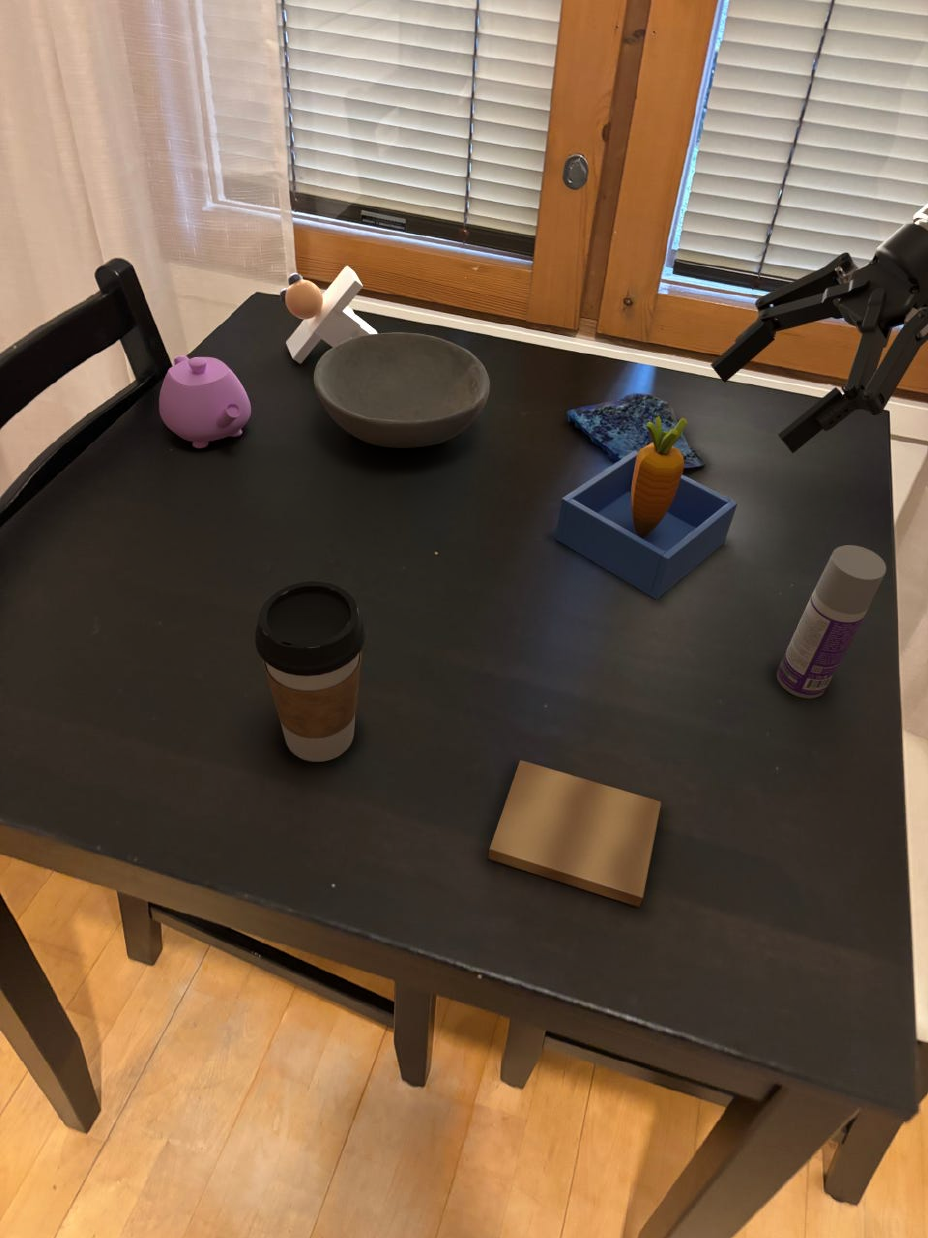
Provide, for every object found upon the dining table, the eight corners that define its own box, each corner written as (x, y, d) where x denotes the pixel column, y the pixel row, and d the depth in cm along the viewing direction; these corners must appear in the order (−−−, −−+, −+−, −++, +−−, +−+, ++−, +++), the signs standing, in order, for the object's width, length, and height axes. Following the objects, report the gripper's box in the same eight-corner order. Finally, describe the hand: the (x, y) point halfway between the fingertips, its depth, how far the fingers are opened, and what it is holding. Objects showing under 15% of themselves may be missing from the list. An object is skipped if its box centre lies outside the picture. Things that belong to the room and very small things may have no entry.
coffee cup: (252, 757, 74) (230, 633, 64) (297, 687, 80) (283, 562, 70) (344, 787, 73) (336, 664, 62) (383, 712, 79) (381, 589, 68)
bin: (724, 542, 99) (738, 502, 95) (656, 600, 92) (668, 559, 88) (626, 489, 105) (635, 449, 101) (554, 538, 98) (561, 498, 94)
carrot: (613, 542, 97) (640, 424, 86) (625, 518, 100) (652, 401, 90) (657, 556, 96) (690, 437, 85) (668, 530, 99) (700, 413, 89)
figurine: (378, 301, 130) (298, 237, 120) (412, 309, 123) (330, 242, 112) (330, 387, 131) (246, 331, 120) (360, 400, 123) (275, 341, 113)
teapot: (222, 394, 115) (211, 326, 109) (280, 448, 107) (273, 378, 101) (146, 417, 110) (130, 348, 104) (201, 476, 102) (188, 405, 96)
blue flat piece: (659, 399, 120) (662, 386, 119) (717, 472, 109) (721, 459, 108) (559, 411, 117) (560, 398, 116) (607, 487, 106) (610, 474, 104)
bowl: (485, 391, 119) (490, 336, 114) (485, 482, 104) (490, 424, 99) (329, 382, 119) (326, 326, 113) (306, 472, 104) (301, 412, 98)
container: (829, 672, 85) (890, 554, 75) (822, 705, 82) (885, 587, 72) (781, 656, 87) (834, 537, 76) (772, 688, 84) (826, 569, 73)
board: (657, 812, 73) (661, 801, 72) (639, 907, 67) (643, 898, 66) (518, 770, 75) (520, 759, 74) (487, 859, 69) (489, 849, 68)
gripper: (1039, 336, 77) (832, 497, 84) (869, 225, 94) (708, 367, 100) (1021, 280, 72) (802, 457, 79) (844, 174, 89) (677, 327, 95)
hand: (749, 407), depth 90 cm, fingers open, 13 cm apart
